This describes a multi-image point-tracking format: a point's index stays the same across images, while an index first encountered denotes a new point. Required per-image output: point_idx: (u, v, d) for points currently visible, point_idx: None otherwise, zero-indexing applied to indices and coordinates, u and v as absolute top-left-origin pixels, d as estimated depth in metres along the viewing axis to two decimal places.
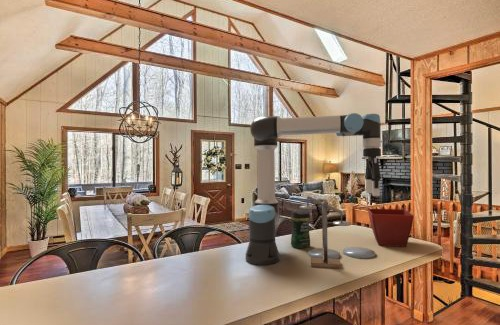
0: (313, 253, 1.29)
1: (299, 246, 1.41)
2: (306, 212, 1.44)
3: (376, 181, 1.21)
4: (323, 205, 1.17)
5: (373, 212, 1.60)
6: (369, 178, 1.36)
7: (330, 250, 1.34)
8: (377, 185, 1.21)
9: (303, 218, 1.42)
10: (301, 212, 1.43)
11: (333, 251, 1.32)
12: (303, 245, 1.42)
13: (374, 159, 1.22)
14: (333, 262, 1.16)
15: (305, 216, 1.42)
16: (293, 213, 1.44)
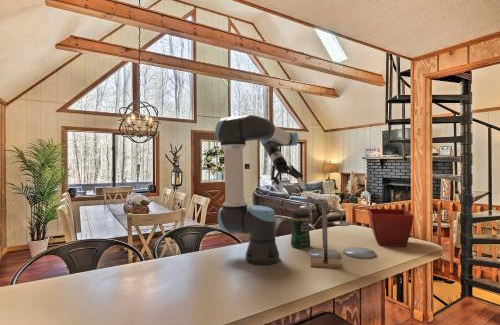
0: (313, 253, 1.29)
1: (299, 246, 1.41)
2: (306, 212, 1.44)
3: None
4: (323, 205, 1.17)
5: (373, 212, 1.60)
6: None
7: (330, 250, 1.34)
8: None
9: (303, 218, 1.42)
10: (301, 212, 1.43)
11: (333, 251, 1.32)
12: (303, 245, 1.42)
13: None
14: (333, 262, 1.16)
15: (305, 216, 1.42)
16: (293, 213, 1.44)
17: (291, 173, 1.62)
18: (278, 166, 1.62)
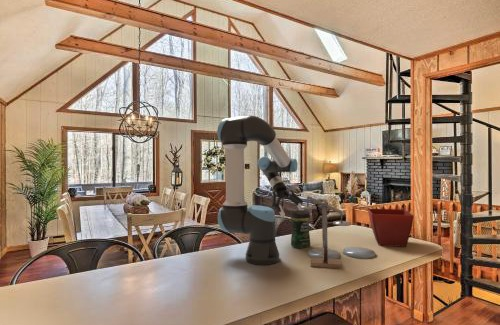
0: (313, 253, 1.29)
1: (299, 246, 1.41)
2: (306, 212, 1.44)
3: None
4: (323, 205, 1.17)
5: (373, 212, 1.60)
6: None
7: (330, 250, 1.34)
8: None
9: (303, 218, 1.42)
10: (301, 212, 1.43)
11: (333, 251, 1.32)
12: (303, 245, 1.42)
13: None
14: (333, 262, 1.16)
15: (305, 216, 1.42)
16: (293, 213, 1.44)
17: (291, 199, 1.61)
18: (278, 192, 1.60)
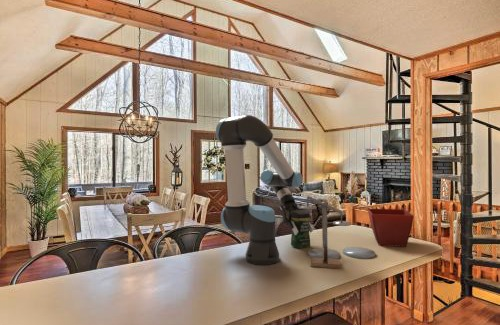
0: (313, 253, 1.29)
1: (299, 246, 1.41)
2: (306, 212, 1.44)
3: None
4: (323, 205, 1.17)
5: (373, 212, 1.60)
6: None
7: (330, 250, 1.34)
8: None
9: (303, 218, 1.42)
10: (301, 212, 1.43)
11: (333, 251, 1.32)
12: (304, 245, 1.42)
13: None
14: (333, 262, 1.16)
15: (305, 216, 1.42)
16: (293, 213, 1.44)
17: None
18: (286, 205, 1.52)
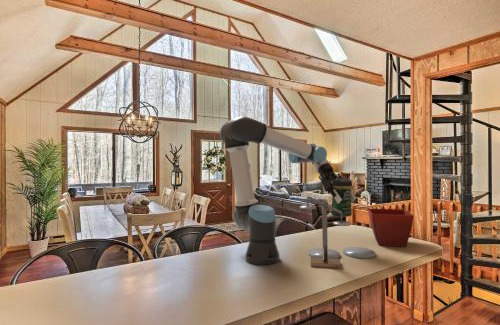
0: (313, 253, 1.29)
1: None
2: (348, 180, 1.38)
3: None
4: (323, 205, 1.17)
5: (373, 212, 1.60)
6: None
7: (330, 250, 1.34)
8: None
9: (346, 186, 1.36)
10: (344, 180, 1.37)
11: (333, 251, 1.32)
12: (346, 214, 1.36)
13: None
14: (333, 262, 1.16)
15: (348, 184, 1.36)
16: (335, 181, 1.37)
17: None
18: (326, 173, 1.45)
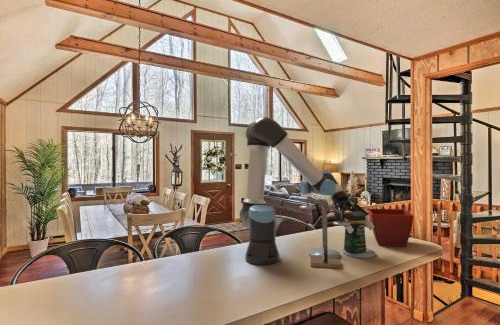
0: (313, 253, 1.29)
1: (355, 251, 1.27)
2: (362, 214, 1.30)
3: None
4: (323, 205, 1.17)
5: (373, 212, 1.60)
6: None
7: (330, 250, 1.34)
8: None
9: (360, 220, 1.28)
10: (357, 214, 1.29)
11: (333, 251, 1.32)
12: (360, 250, 1.28)
13: None
14: (333, 262, 1.16)
15: (361, 218, 1.28)
16: (347, 215, 1.30)
17: (355, 210, 1.39)
18: (340, 202, 1.38)
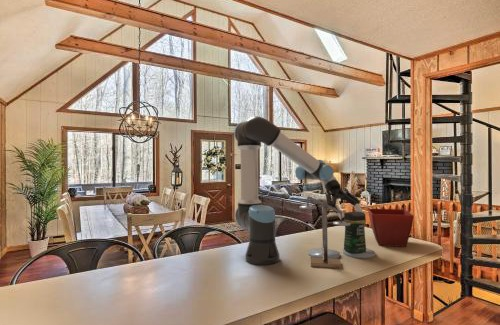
0: (313, 253, 1.29)
1: (355, 251, 1.27)
2: (362, 214, 1.30)
3: None
4: (323, 205, 1.17)
5: (373, 212, 1.60)
6: None
7: (330, 250, 1.34)
8: None
9: (360, 220, 1.28)
10: (356, 214, 1.29)
11: (333, 251, 1.32)
12: (360, 250, 1.28)
13: None
14: (333, 262, 1.16)
15: (361, 218, 1.28)
16: (347, 215, 1.30)
17: (347, 198, 1.44)
18: (333, 190, 1.44)
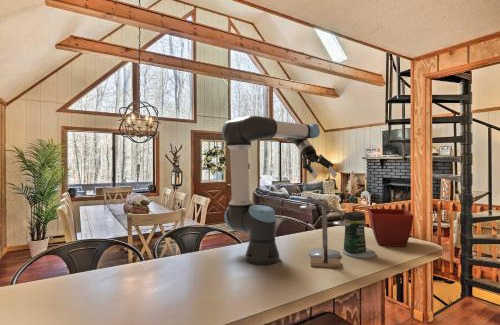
0: (313, 253, 1.29)
1: (355, 251, 1.27)
2: (361, 214, 1.30)
3: None
4: (323, 205, 1.17)
5: (373, 212, 1.60)
6: None
7: (330, 250, 1.34)
8: None
9: (359, 220, 1.28)
10: (356, 214, 1.29)
11: (333, 251, 1.32)
12: (360, 250, 1.28)
13: None
14: (333, 262, 1.16)
15: (361, 218, 1.28)
16: (347, 215, 1.30)
17: (321, 162, 1.58)
18: (308, 155, 1.57)
